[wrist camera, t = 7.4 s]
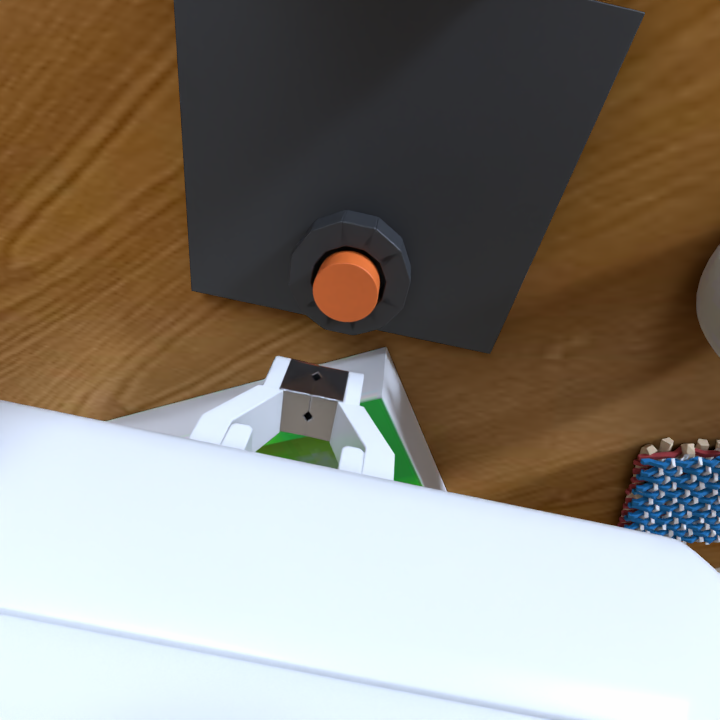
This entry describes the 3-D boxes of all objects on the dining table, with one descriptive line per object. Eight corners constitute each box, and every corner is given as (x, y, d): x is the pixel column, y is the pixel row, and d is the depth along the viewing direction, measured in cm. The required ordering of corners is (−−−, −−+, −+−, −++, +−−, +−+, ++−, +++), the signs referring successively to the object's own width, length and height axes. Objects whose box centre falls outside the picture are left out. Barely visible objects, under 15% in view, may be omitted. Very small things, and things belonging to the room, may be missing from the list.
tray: (95, 424, 34) (52, 473, 30) (386, 346, 27) (381, 398, 23) (249, 580, 47) (233, 629, 43) (474, 556, 40) (481, 613, 36)
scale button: (322, 243, 21) (316, 256, 19) (386, 257, 21) (384, 270, 20) (314, 300, 23) (309, 315, 21) (373, 313, 23) (370, 328, 21)
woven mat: (755, 524, 33) (772, 548, 32) (608, 525, 35) (618, 548, 34) (811, 429, 27) (837, 452, 26) (632, 437, 29) (645, 459, 28)
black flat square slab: (181, -92, 16) (141, -117, 14) (632, 14, 17) (669, 8, 14) (199, 282, 26) (177, 305, 23) (487, 343, 26) (495, 372, 24)
